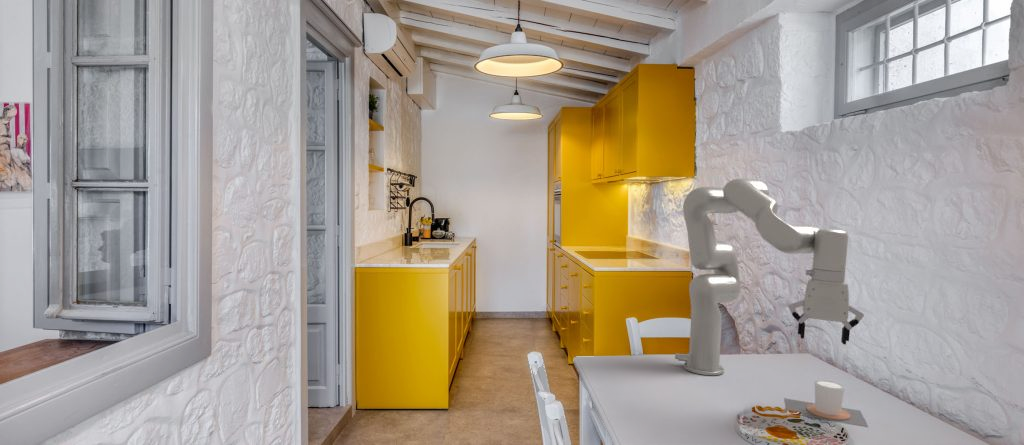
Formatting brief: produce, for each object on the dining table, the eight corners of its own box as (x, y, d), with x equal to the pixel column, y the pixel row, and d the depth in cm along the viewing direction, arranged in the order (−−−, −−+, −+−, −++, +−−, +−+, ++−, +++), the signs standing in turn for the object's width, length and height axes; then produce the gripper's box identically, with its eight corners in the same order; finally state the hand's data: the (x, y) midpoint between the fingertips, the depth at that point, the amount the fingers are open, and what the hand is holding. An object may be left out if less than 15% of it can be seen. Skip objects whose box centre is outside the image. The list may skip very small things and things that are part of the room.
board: (786, 418, 142) (786, 413, 142) (784, 403, 153) (784, 398, 153) (868, 433, 135) (868, 427, 135) (859, 416, 146) (860, 410, 146)
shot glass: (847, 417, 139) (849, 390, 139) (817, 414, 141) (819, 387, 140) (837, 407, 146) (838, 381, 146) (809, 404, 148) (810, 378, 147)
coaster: (808, 415, 141) (808, 413, 141) (804, 402, 150) (805, 401, 150) (853, 423, 137) (853, 421, 137) (847, 409, 146) (847, 408, 146)
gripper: (791, 274, 145) (786, 338, 146) (869, 282, 138) (863, 349, 139) (790, 271, 152) (785, 332, 153) (864, 278, 144) (858, 342, 146)
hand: (822, 340), depth 146 cm, fingers open, 9 cm apart
